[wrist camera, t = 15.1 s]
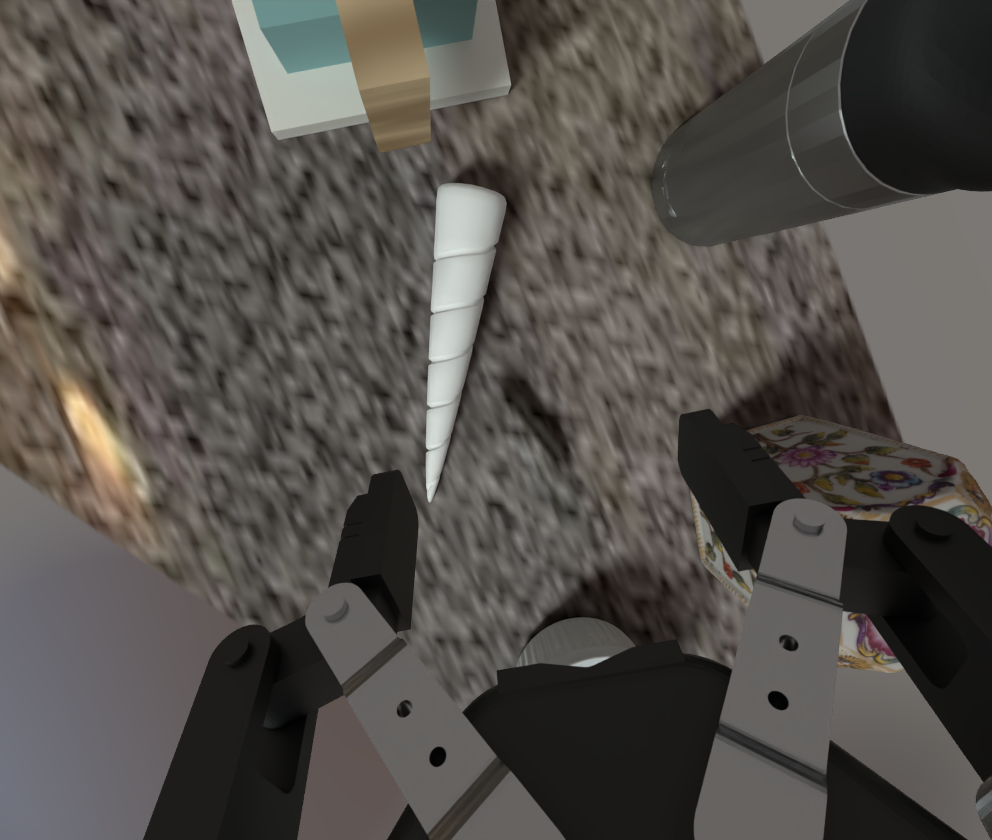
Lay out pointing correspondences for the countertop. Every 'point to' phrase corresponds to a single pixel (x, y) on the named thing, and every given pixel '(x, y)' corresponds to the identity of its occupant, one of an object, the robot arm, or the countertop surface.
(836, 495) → the decorative jar
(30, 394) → the countertop surface
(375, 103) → the wooden beam
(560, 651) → the ramekin
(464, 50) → the ridge stand
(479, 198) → the unicorn horn
